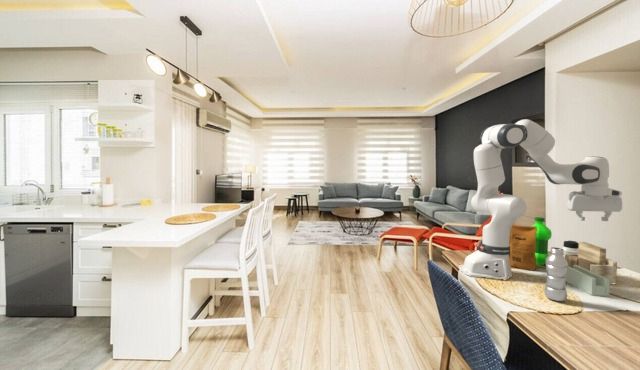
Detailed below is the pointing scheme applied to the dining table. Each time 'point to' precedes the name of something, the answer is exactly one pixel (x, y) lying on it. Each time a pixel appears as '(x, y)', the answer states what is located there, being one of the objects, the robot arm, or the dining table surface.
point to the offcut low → (571, 264)
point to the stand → (588, 281)
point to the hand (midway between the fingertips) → (593, 220)
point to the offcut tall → (585, 263)
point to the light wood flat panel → (592, 253)
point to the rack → (601, 268)
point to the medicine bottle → (570, 247)
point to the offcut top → (574, 259)
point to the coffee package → (523, 247)
